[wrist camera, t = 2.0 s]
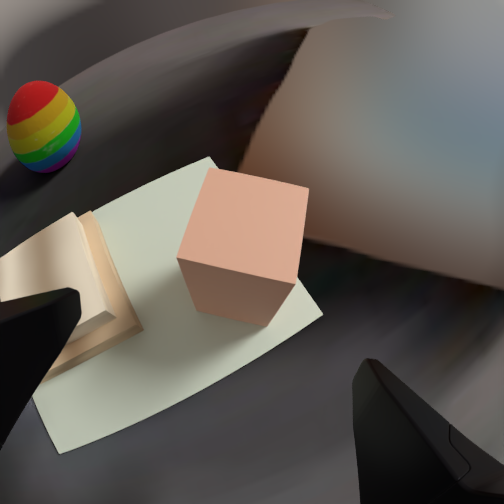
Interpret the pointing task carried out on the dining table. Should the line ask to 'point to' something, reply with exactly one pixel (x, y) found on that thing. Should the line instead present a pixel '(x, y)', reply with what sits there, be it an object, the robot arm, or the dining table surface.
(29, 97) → the decorative egg
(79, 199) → the dining table surface
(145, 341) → the baseplate
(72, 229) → the stepped square platform
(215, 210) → the terracotta brick
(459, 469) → the robot arm
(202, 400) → the dining table surface
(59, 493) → the dining table surface
